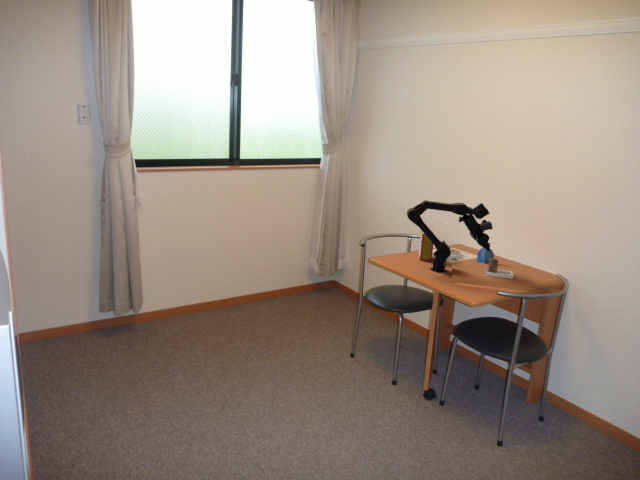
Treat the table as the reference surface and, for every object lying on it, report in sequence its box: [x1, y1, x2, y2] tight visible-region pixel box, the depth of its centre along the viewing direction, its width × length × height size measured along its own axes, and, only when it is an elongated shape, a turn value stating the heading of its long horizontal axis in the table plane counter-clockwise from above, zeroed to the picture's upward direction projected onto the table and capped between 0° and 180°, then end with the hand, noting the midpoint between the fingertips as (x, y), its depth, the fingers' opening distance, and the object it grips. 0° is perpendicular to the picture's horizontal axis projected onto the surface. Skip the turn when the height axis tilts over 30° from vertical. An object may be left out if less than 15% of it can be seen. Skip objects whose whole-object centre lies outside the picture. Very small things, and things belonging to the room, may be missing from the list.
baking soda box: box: [418, 229, 435, 262], centre depth 275 cm, size 10×6×16 cm
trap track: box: [485, 268, 514, 280], centre depth 249 cm, size 13×7×3 cm, turn 75°
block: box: [487, 257, 499, 273], centre depth 249 cm, size 4×4×8 cm
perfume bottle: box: [476, 242, 495, 264], centre depth 271 cm, size 6×6×12 cm
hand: (487, 248), depth 251 cm, fingers open, 9 cm apart
